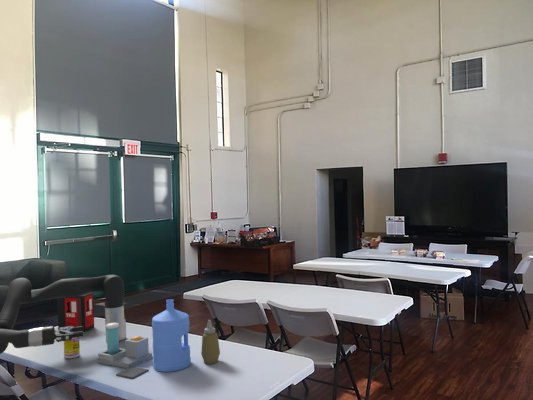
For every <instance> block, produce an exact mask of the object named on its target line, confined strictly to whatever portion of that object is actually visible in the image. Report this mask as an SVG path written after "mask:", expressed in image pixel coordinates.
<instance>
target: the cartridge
mask: <svg viewBox="0 0 533 400" xmlns="http://www.w3.org/2000/svg"><path fill="white" fill-rule="evenodd" d="M118 327H119V323H109V324H106V326H105V329H106V328H107V341H106V344H107V345H106V346H107V347H106V348H107V349H106V350H107V352H108V354H110V355H114V354H116V353H119V348H120V347H119V342H120V341H118Z"/></svg>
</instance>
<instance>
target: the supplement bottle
mask: <svg viewBox="0 0 533 400" xmlns="http://www.w3.org/2000/svg"><path fill="white" fill-rule="evenodd" d="M80 347H81V346H80V337H76V338H73V339H72V340H67V341H63V356H64V358H65V359H75V358H78V357H79V356H80V354H81V351H80Z"/></svg>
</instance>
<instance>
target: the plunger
mask: <svg viewBox="0 0 533 400" xmlns="http://www.w3.org/2000/svg"><path fill="white" fill-rule="evenodd" d="M141 337H142V335H141V336H140V335H135V336H133V337H132V338H133V341H139V340H141Z"/></svg>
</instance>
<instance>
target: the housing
mask: <svg viewBox="0 0 533 400" xmlns="http://www.w3.org/2000/svg"><path fill="white" fill-rule="evenodd" d="M124 340H125V339H124ZM124 345H125V348H124V347H119V353H116V354H114V355H110V354H108V352H107V349H106V350H104V351H101V352H99V353H98V354H97V355H98V356H97V358H96V359H97V360H96V361H97V363H98V364H104V365H109V366H114V367H118V368H123V369H128V368H130V367H132V366H134V367H137V366H138V365H140V364H142V363H144V362H146V361H148V360H151V359H152V358H153V353H152V352H149V351H150V350H149V337H145V336H141V340H139V341H133V337H131V338H128V339H126V340H125V341H124Z"/></svg>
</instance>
